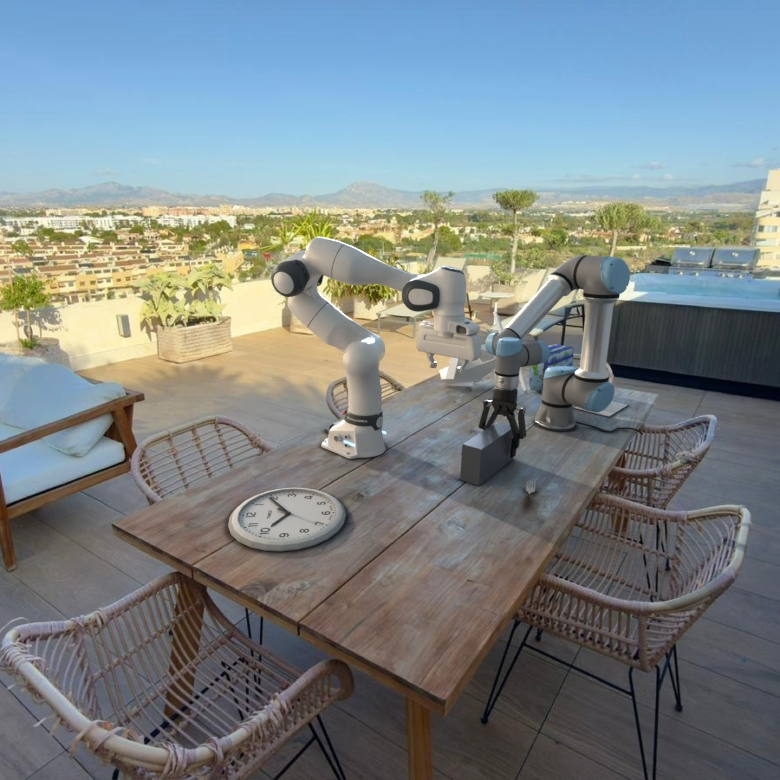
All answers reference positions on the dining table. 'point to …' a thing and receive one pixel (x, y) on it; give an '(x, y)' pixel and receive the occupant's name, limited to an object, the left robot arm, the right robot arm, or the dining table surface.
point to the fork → (529, 490)
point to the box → (486, 453)
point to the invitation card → (609, 408)
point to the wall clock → (287, 519)
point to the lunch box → (550, 365)
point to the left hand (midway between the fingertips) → (446, 370)
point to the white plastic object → (476, 367)
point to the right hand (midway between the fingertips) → (500, 453)
